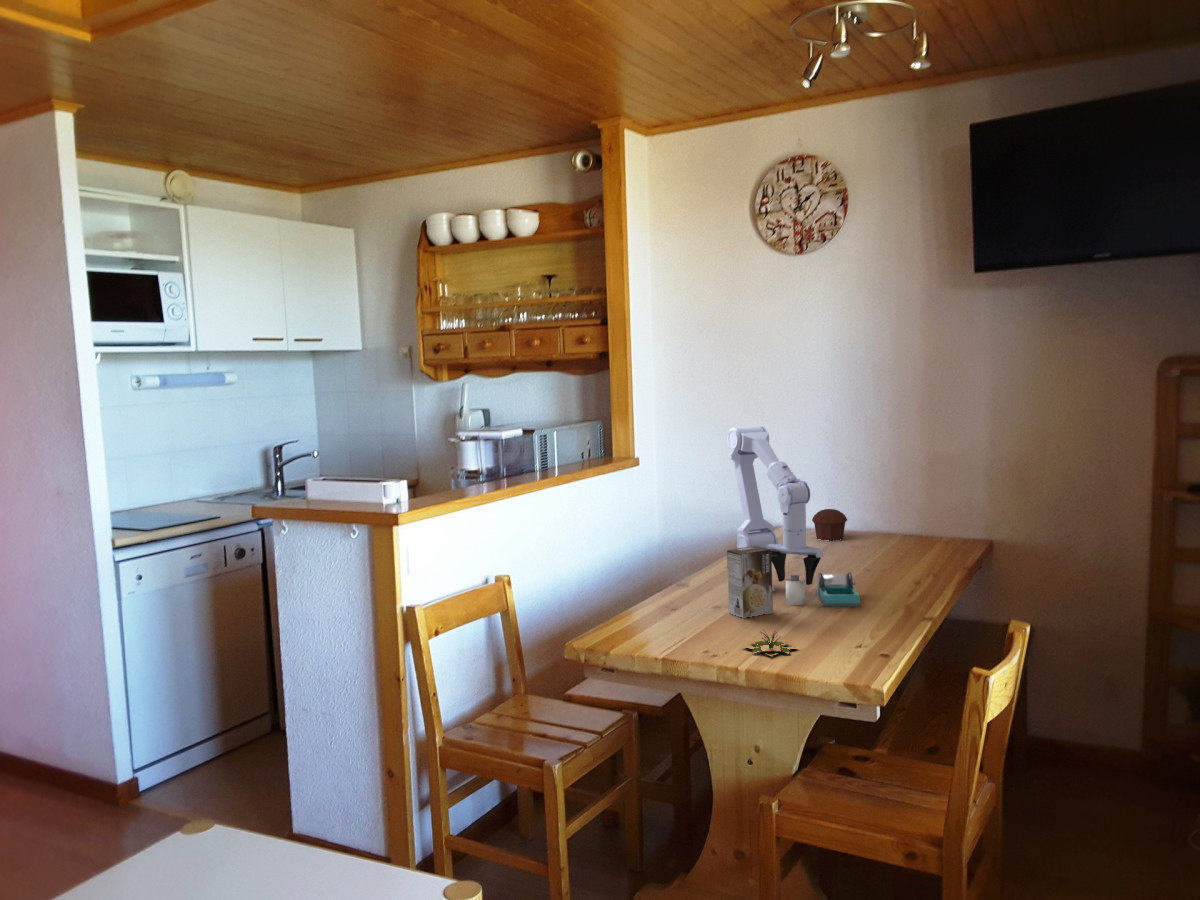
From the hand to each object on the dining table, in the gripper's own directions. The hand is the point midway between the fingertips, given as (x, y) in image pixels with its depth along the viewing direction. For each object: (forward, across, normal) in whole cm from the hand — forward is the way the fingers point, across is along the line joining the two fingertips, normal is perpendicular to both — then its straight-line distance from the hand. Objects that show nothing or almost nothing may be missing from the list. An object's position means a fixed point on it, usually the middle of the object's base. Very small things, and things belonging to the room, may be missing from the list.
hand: (795, 582), depth 244 cm
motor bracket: (+5, -8, -9) cm, 13 cm away
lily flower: (+6, -13, +37) cm, 40 cm away
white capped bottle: (+6, 0, 0) cm, 6 cm away
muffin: (+5, +28, -82) cm, 87 cm away
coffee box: (+6, +5, +14) cm, 16 cm away
